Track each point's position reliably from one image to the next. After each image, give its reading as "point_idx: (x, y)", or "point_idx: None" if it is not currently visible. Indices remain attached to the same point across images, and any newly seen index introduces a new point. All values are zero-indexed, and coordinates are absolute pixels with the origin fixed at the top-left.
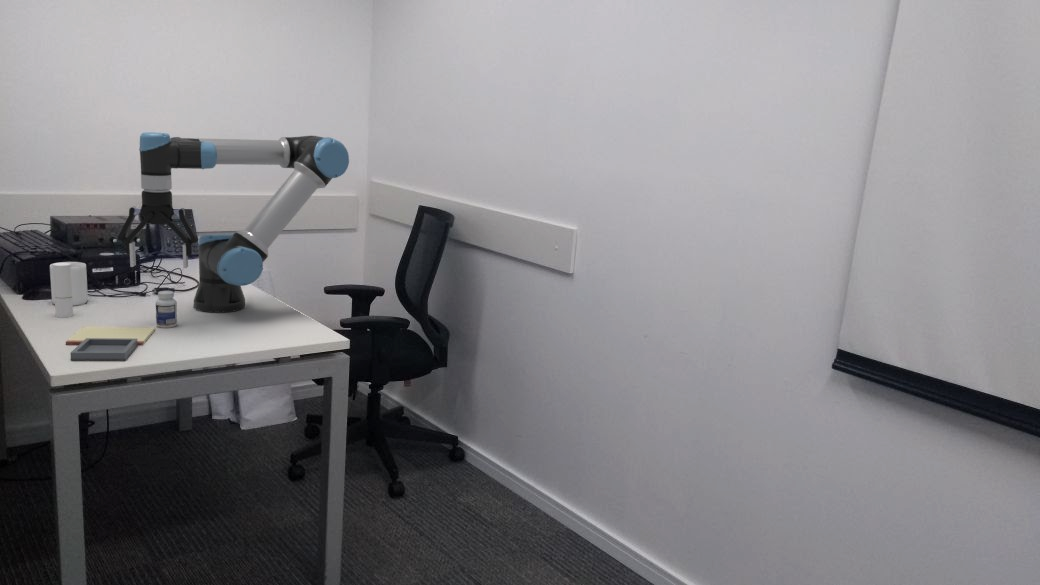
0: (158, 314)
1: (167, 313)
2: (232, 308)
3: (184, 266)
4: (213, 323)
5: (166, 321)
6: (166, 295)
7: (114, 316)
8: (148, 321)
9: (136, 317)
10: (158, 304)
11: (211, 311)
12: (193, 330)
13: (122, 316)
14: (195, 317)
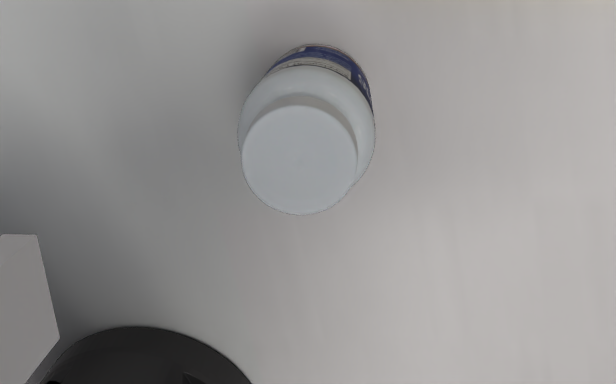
0: (349, 69)
1: (290, 59)
2: (67, 354)
3: (10, 245)
4: (95, 148)
5: (302, 49)
6: (282, 103)
7: (609, 261)
8: (426, 175)
9: (497, 246)
10: (346, 81)
11: (160, 332)
12: (153, 3)
13: (568, 262)
14: (213, 252)
